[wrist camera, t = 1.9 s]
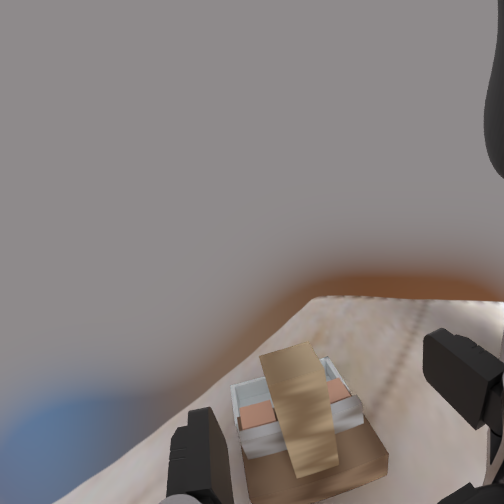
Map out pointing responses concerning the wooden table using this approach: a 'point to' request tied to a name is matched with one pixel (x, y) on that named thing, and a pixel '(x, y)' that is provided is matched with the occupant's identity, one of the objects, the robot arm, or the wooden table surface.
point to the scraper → (301, 412)
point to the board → (321, 483)
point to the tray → (259, 390)
